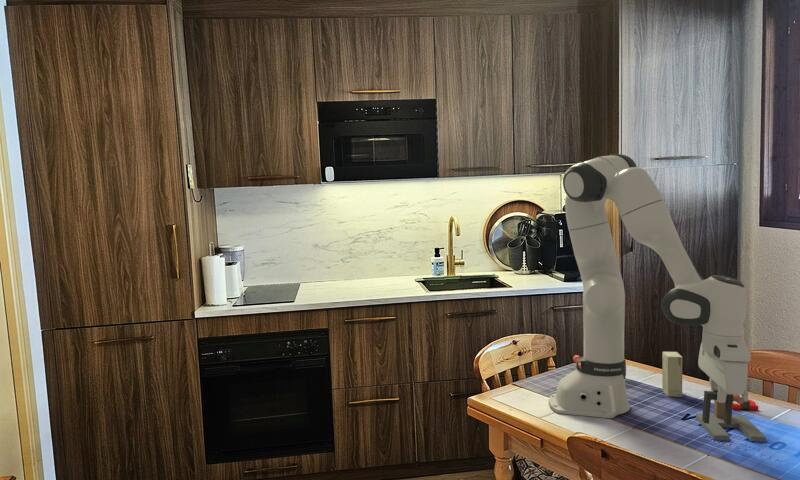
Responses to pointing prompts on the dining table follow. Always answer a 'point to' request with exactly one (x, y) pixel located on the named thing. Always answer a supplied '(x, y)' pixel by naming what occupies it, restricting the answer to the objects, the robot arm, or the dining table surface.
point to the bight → (707, 402)
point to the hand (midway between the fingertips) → (717, 399)
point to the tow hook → (745, 402)
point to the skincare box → (672, 374)
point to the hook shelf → (736, 422)
